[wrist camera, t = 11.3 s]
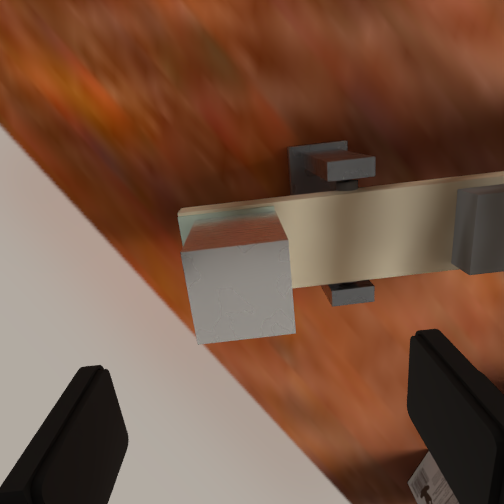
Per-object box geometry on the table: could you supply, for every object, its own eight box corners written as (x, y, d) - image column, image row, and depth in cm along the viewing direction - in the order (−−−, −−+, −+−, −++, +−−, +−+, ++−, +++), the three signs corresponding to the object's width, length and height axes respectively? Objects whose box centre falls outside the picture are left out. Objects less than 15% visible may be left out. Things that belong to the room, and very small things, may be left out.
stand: (343, 140, 31) (391, 146, 22) (346, 257, 35) (388, 305, 25) (287, 146, 31) (310, 155, 22) (295, 263, 35) (318, 314, 25)
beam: (506, 161, 24) (559, 168, 20) (493, 258, 26) (539, 281, 22) (181, 198, 24) (170, 213, 20) (197, 292, 26) (190, 321, 22)
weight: (195, 220, 22) (180, 252, 16) (275, 210, 22) (288, 239, 16) (207, 292, 24) (197, 344, 18) (281, 283, 24) (295, 333, 18)
